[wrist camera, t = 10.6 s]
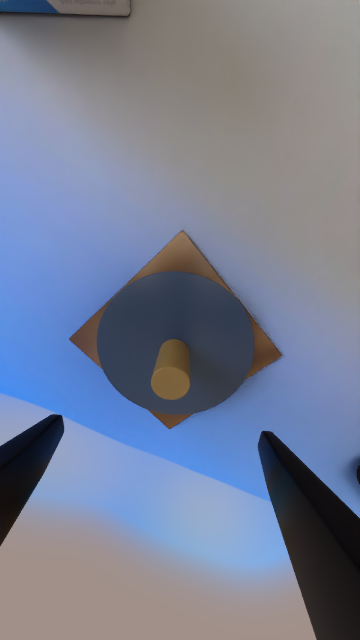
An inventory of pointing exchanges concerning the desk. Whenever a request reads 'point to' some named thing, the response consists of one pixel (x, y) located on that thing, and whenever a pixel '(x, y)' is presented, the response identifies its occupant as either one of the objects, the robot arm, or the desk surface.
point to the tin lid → (175, 343)
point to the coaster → (186, 259)
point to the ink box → (68, 6)
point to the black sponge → (358, 474)
